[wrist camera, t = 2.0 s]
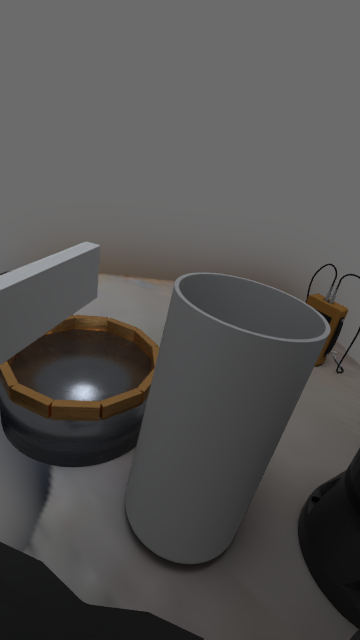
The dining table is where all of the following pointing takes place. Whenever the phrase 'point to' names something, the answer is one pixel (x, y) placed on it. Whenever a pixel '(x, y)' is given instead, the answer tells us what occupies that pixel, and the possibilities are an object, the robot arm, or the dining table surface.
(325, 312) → the multimeter
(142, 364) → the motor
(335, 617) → the dining table surface
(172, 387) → the cylinder vase
